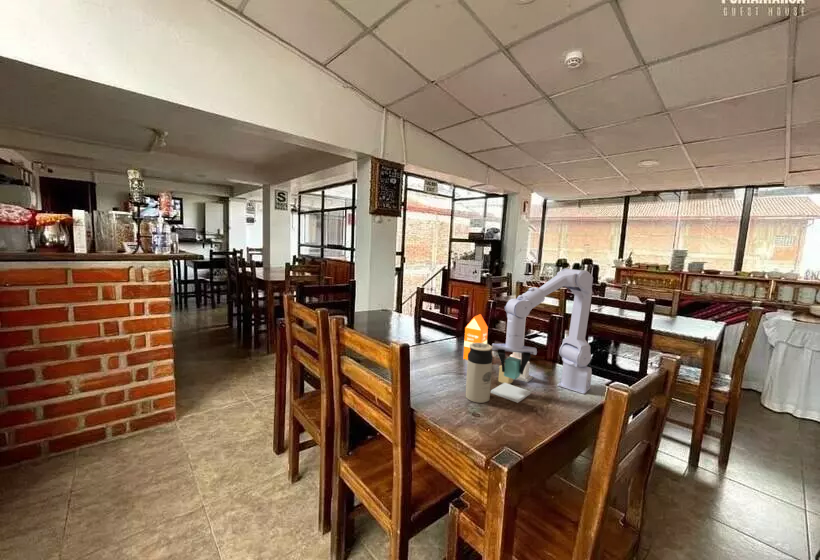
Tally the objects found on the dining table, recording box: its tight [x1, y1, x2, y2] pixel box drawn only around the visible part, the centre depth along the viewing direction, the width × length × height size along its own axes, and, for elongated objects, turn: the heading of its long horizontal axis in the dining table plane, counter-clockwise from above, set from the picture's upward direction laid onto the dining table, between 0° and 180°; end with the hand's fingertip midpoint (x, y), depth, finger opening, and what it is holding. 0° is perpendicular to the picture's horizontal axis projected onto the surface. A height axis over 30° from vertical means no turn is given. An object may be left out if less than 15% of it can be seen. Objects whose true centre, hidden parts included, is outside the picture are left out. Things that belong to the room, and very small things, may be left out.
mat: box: [490, 382, 532, 404], centre depth 114 cm, size 10×10×1 cm
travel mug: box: [465, 343, 493, 404], centre depth 108 cm, size 8×8×18 cm
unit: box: [507, 356, 534, 383], centre depth 129 cm, size 10×5×7 cm, turn 46°
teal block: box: [504, 356, 521, 380], centre depth 113 cm, size 4×4×6 cm
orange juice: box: [462, 313, 489, 361], centre depth 147 cm, size 8×9×20 cm
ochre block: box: [497, 364, 514, 385], centre depth 124 cm, size 4×4×6 cm
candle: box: [509, 317, 527, 359], centre depth 150 cm, size 7×7×25 cm
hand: (512, 372), depth 113 cm, fingers closed on teal block, 5 cm apart
